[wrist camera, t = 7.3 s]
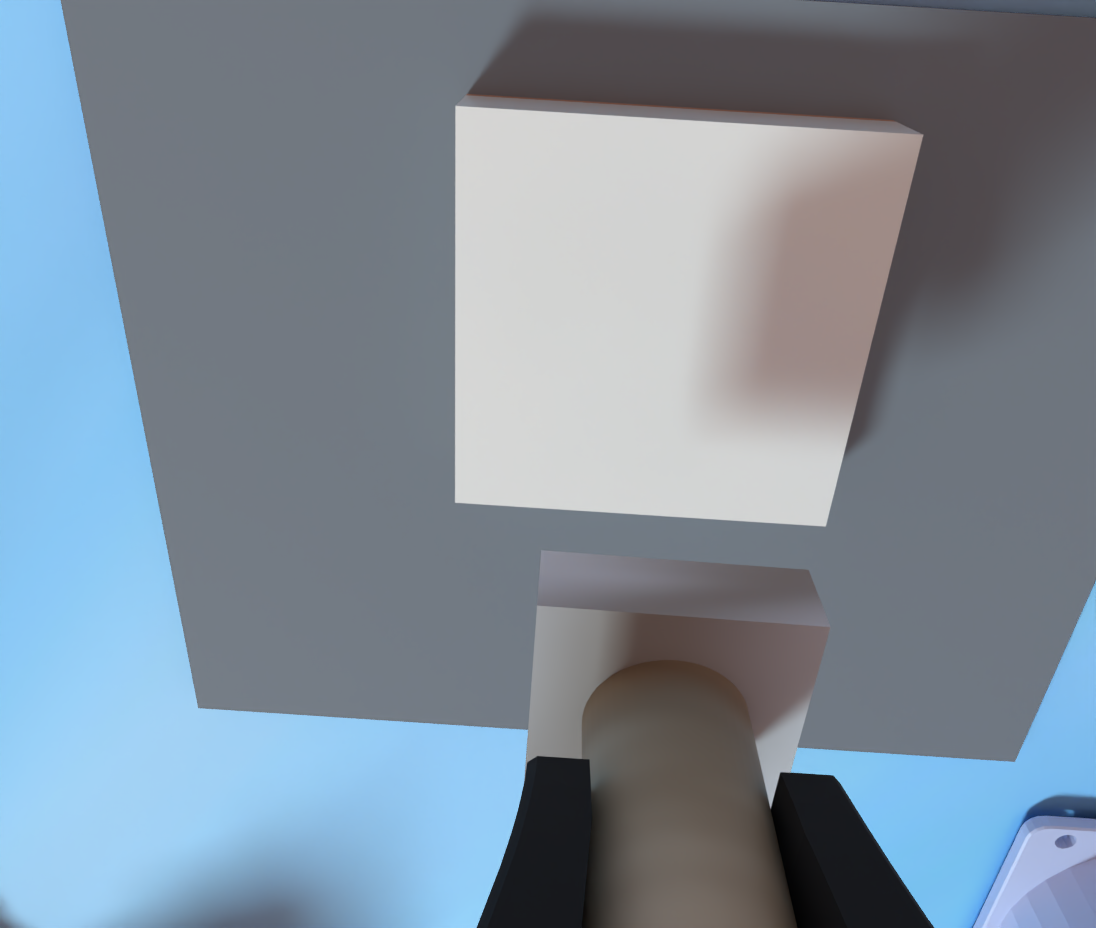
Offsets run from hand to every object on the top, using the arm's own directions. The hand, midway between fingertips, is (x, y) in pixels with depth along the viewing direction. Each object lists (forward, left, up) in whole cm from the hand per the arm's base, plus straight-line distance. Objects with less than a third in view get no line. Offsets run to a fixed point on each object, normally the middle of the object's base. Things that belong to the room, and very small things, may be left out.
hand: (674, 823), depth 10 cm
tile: (0, 0, -8) cm, 8 cm away
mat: (0, -1, -9) cm, 9 cm away
